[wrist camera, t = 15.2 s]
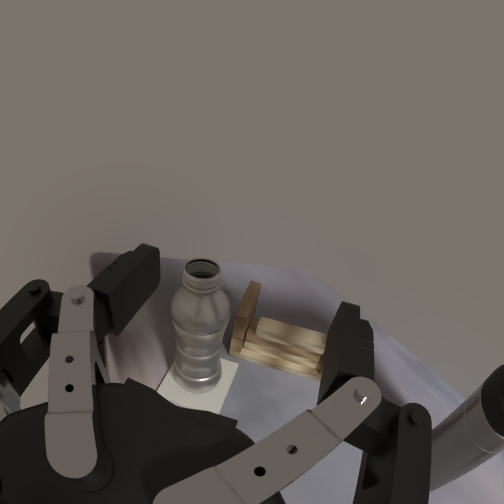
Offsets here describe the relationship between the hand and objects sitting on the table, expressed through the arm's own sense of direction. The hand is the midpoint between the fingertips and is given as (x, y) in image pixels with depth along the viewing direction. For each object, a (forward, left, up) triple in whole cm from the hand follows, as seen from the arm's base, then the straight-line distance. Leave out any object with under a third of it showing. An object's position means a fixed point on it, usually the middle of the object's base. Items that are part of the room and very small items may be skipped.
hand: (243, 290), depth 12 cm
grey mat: (+7, -13, -30) cm, 33 cm away
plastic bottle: (+7, -12, -30) cm, 33 cm away
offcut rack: (-4, -23, -30) cm, 38 cm away
